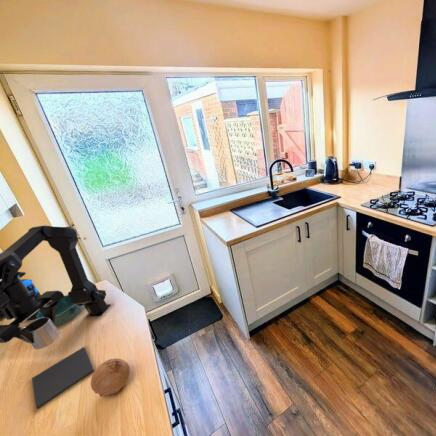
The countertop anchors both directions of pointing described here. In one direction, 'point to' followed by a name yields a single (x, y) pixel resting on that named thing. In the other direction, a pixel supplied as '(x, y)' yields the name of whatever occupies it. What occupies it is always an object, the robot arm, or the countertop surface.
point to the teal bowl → (65, 311)
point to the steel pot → (42, 332)
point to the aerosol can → (31, 289)
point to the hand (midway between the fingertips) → (42, 333)
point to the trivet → (61, 377)
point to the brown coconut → (110, 376)
